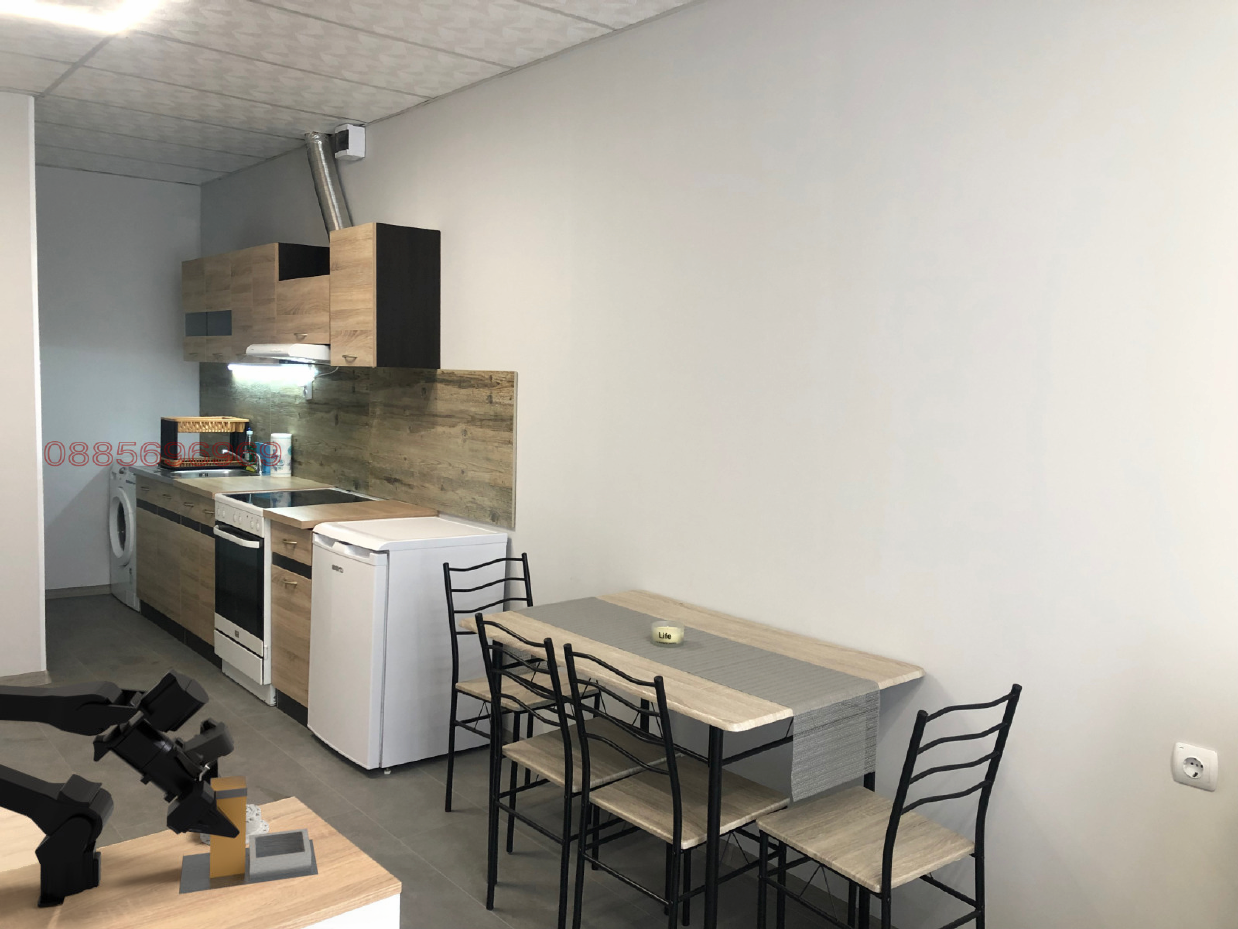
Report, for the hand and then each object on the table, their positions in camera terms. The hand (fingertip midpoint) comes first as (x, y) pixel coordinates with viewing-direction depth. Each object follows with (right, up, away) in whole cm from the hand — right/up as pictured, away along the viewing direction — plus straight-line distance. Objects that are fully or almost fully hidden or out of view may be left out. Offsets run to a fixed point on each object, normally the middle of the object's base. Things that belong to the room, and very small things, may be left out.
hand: (237, 820), depth 135 cm
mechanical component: (-5, -7, +11) cm, 14 cm away
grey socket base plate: (+1, -8, +1) cm, 8 cm away
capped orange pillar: (-1, -7, 0) cm, 7 cm away
